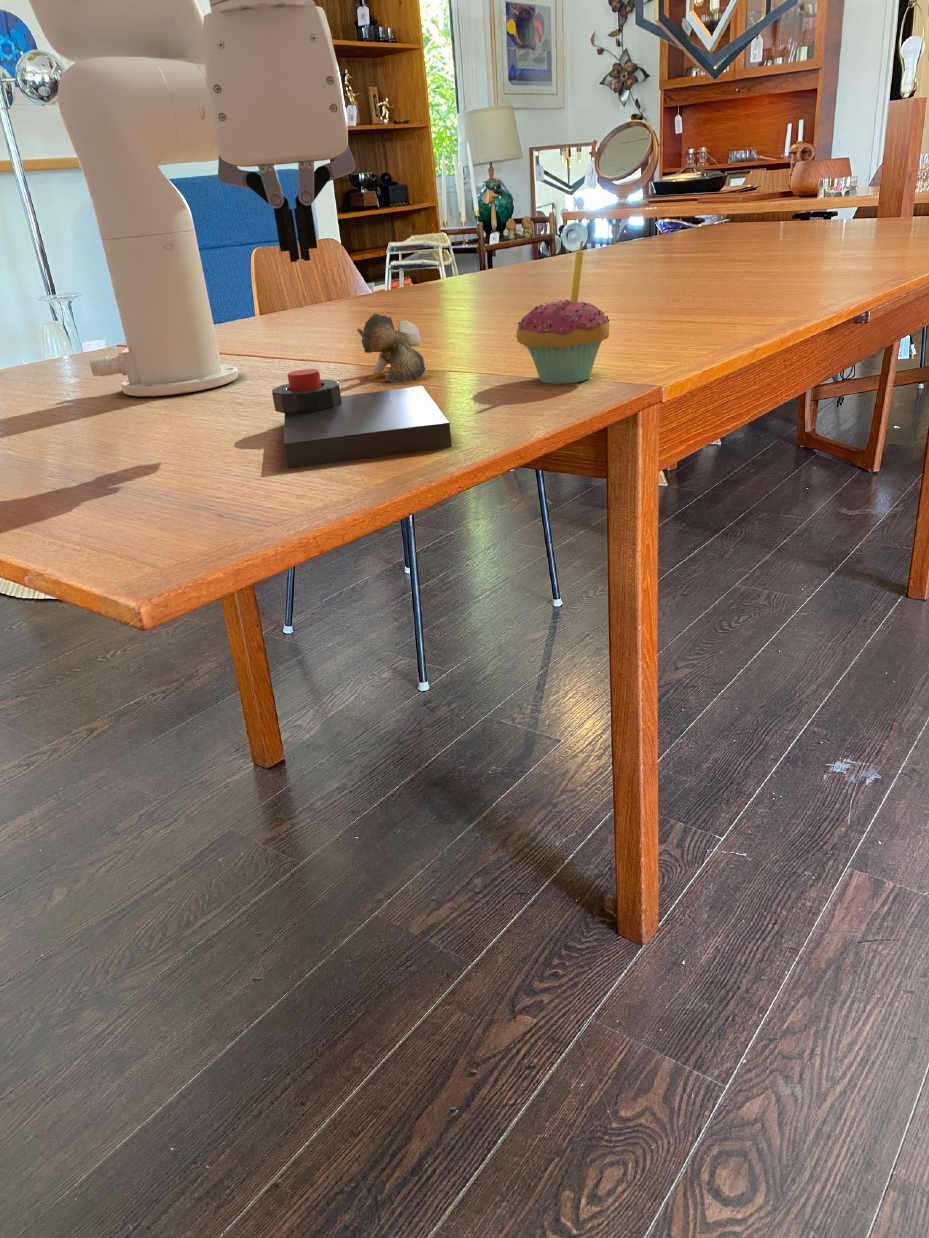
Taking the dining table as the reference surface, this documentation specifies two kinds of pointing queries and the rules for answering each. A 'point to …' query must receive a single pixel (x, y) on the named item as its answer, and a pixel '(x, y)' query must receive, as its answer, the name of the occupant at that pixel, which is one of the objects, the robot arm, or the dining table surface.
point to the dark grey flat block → (357, 424)
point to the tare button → (304, 379)
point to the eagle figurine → (393, 348)
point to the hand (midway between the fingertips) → (300, 259)
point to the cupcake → (564, 335)
